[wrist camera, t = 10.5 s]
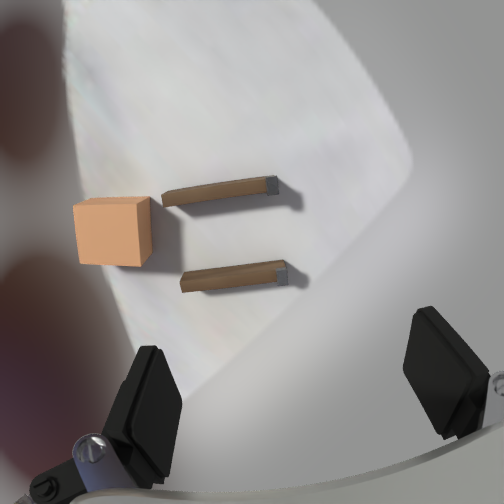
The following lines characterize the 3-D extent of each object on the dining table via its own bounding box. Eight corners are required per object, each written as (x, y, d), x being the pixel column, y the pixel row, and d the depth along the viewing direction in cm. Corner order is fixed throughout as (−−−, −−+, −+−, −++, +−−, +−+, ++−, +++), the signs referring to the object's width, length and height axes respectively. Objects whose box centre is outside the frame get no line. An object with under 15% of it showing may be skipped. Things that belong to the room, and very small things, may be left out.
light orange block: (91, 198, 29) (72, 205, 25) (149, 196, 29) (136, 203, 25) (96, 250, 31) (80, 263, 27) (152, 252, 31) (141, 266, 27)
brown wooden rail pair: (167, 189, 29) (158, 193, 26) (273, 173, 28) (276, 176, 25) (187, 283, 32) (181, 297, 29) (284, 272, 32) (288, 284, 29)
